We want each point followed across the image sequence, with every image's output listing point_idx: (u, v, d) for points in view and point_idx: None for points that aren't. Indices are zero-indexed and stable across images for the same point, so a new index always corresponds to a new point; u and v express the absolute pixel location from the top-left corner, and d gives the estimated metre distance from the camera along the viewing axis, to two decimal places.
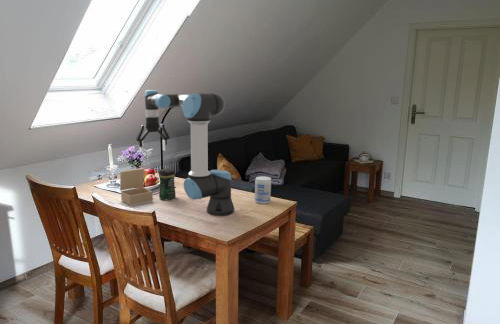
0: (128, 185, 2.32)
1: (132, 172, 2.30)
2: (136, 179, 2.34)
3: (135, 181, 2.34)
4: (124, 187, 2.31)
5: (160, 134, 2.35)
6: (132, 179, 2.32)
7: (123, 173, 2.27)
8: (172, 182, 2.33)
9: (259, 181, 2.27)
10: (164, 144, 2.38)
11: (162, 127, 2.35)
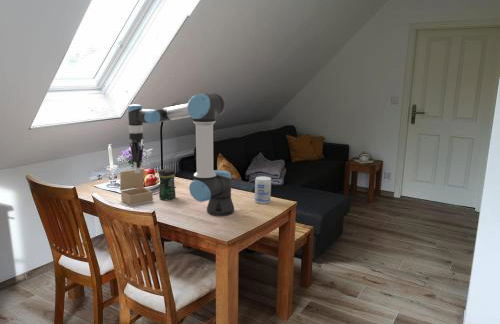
0: (128, 185, 2.32)
1: (132, 172, 2.30)
2: (136, 179, 2.34)
3: (135, 181, 2.34)
4: (124, 187, 2.31)
5: (135, 153, 2.21)
6: (132, 179, 2.32)
7: (123, 173, 2.27)
8: (172, 182, 2.33)
9: (259, 181, 2.27)
10: (135, 166, 2.23)
11: None
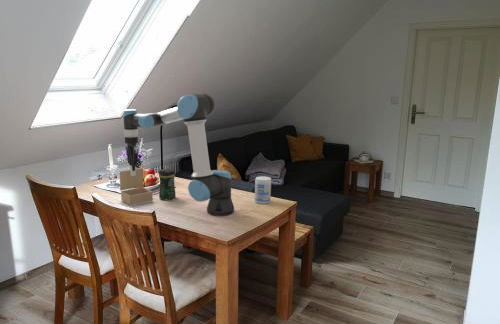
0: (128, 184, 2.32)
1: None
2: (136, 179, 2.34)
3: (135, 181, 2.34)
4: (124, 187, 2.31)
5: (131, 156, 2.26)
6: (132, 179, 2.32)
7: (122, 172, 2.27)
8: (172, 182, 2.33)
9: (259, 181, 2.27)
10: (130, 169, 2.28)
11: None
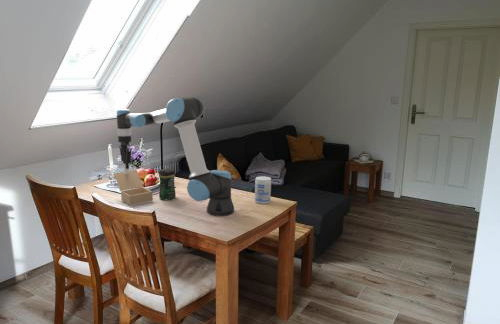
0: (126, 185, 2.33)
1: None
2: (133, 180, 2.38)
3: (132, 181, 2.37)
4: (123, 187, 2.32)
5: (124, 155, 2.33)
6: (129, 180, 2.36)
7: (117, 174, 2.34)
8: (172, 182, 2.33)
9: (259, 181, 2.27)
10: (124, 167, 2.35)
11: (127, 150, 2.30)
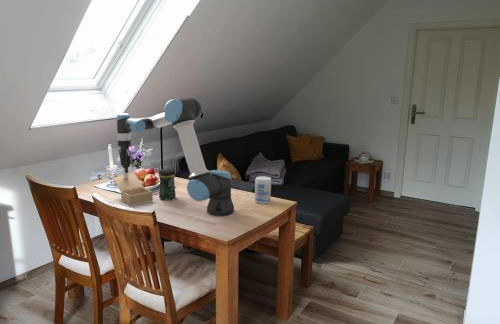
0: (126, 186, 2.34)
1: None
2: (132, 181, 2.39)
3: (132, 183, 2.38)
4: (123, 188, 2.32)
5: (123, 159, 2.35)
6: (128, 182, 2.37)
7: (116, 178, 2.36)
8: (172, 182, 2.33)
9: (259, 181, 2.27)
10: (123, 171, 2.37)
11: None
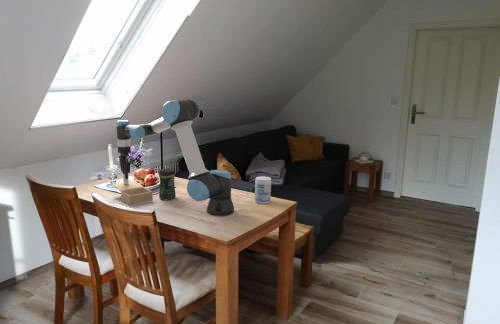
0: (126, 187, 2.34)
1: None
2: (132, 184, 2.40)
3: (132, 185, 2.38)
4: (123, 189, 2.32)
5: (123, 165, 2.36)
6: (128, 185, 2.38)
7: (115, 184, 2.38)
8: (172, 182, 2.33)
9: (259, 181, 2.27)
10: (123, 177, 2.38)
11: (126, 160, 2.33)
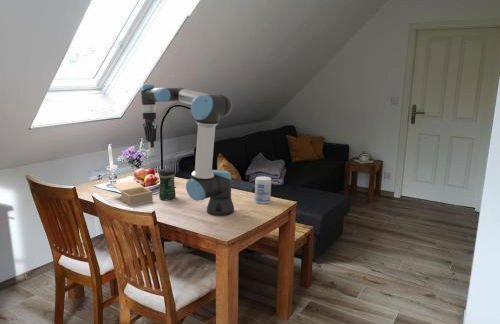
0: (126, 187, 2.34)
1: (124, 182, 2.41)
2: (132, 184, 2.40)
3: (132, 185, 2.38)
4: (123, 189, 2.32)
5: (149, 133, 2.23)
6: (128, 185, 2.38)
7: (115, 184, 2.38)
8: (172, 182, 2.33)
9: (259, 181, 2.27)
10: (149, 146, 2.24)
11: (152, 127, 2.19)
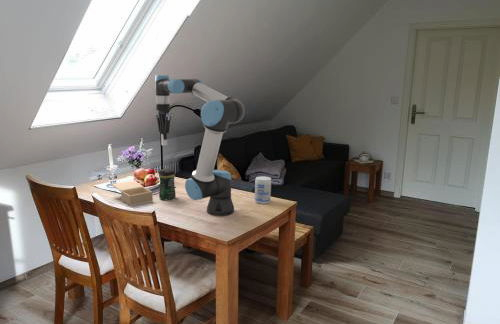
0: (126, 187, 2.34)
1: (124, 182, 2.41)
2: (132, 184, 2.40)
3: (132, 185, 2.38)
4: (123, 189, 2.32)
5: (162, 124, 2.18)
6: (128, 185, 2.38)
7: (115, 184, 2.38)
8: (172, 182, 2.33)
9: (259, 181, 2.27)
10: (162, 138, 2.20)
11: None
